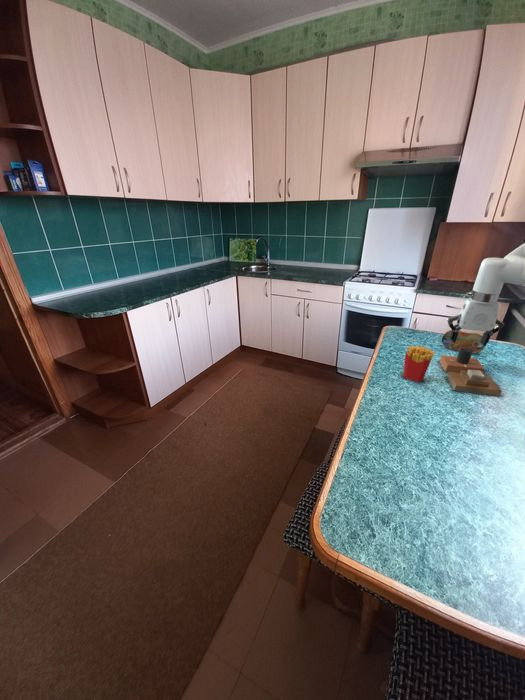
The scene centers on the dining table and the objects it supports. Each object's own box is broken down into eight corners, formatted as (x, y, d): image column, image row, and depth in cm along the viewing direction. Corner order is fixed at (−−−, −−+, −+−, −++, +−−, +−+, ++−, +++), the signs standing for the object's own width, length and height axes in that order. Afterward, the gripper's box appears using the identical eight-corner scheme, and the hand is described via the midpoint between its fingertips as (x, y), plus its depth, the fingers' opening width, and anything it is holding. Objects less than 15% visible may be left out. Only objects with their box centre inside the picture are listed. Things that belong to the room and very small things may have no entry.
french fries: (399, 376, 105) (406, 347, 100) (402, 372, 108) (409, 343, 102) (425, 384, 101) (434, 353, 95) (427, 378, 103) (436, 349, 98)
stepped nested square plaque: (487, 381, 101) (491, 371, 100) (499, 396, 94) (503, 385, 92) (446, 376, 105) (449, 367, 103) (454, 390, 97) (457, 380, 95)
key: (478, 375, 99) (480, 370, 98) (482, 380, 96) (484, 376, 95) (466, 373, 99) (468, 369, 99) (470, 379, 96) (472, 374, 96)
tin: (439, 347, 126) (444, 329, 122) (440, 344, 128) (445, 326, 124) (481, 356, 118) (488, 337, 114) (481, 353, 120) (488, 334, 116)
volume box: (473, 365, 112) (476, 357, 110) (482, 376, 104) (485, 368, 103) (439, 361, 114) (441, 354, 113) (445, 372, 107) (447, 364, 106)
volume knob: (466, 359, 109) (471, 346, 107) (470, 364, 106) (475, 351, 103) (454, 358, 110) (458, 345, 108) (457, 363, 107) (462, 350, 104)
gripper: (458, 298, 96) (444, 344, 103) (520, 302, 92) (499, 350, 99) (451, 291, 102) (438, 336, 110) (508, 295, 98) (490, 341, 106)
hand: (467, 342), depth 105 cm, fingers open, 9 cm apart
